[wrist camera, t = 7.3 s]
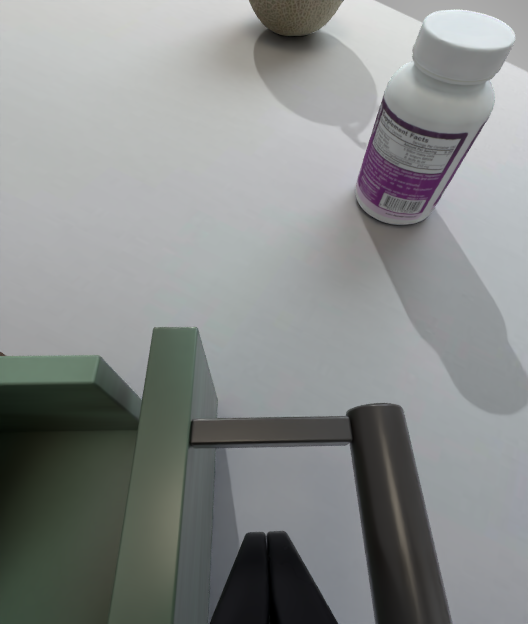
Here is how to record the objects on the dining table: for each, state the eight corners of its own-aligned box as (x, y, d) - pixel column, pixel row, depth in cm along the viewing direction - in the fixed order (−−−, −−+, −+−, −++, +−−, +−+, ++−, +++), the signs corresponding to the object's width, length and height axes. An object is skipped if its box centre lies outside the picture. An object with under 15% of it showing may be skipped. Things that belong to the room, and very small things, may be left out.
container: (334, 397, 15) (391, 319, 9) (380, 747, 10) (586, 1115, 4) (-79, 403, 15) (-318, 322, 8) (-264, 786, 9) (-1271, 1324, 3)
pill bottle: (388, 164, 25) (456, -7, 17) (447, 205, 23) (558, 34, 15) (336, 193, 23) (383, 18, 15) (395, 241, 21) (488, 68, 13)
